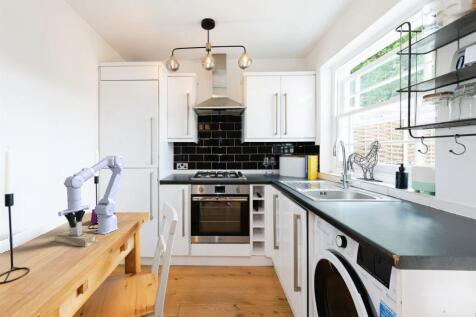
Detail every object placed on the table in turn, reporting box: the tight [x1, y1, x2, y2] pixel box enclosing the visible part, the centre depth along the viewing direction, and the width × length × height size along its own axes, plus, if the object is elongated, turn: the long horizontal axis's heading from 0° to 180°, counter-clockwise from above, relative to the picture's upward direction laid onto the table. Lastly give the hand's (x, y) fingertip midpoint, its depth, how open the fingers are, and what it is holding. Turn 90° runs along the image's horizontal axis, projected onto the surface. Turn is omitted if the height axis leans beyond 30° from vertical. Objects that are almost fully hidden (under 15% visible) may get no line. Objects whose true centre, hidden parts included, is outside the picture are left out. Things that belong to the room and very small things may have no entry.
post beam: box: [54, 230, 99, 248], centre depth 118 cm, size 6×22×4 cm, turn 69°
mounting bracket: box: [90, 208, 116, 225], centre depth 155 cm, size 10×8×18 cm
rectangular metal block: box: [68, 220, 83, 237], centre depth 118 cm, size 2×6×8 cm, turn 70°
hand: (75, 226), depth 118 cm, fingers closed on rectangular metal block, 2 cm apart
